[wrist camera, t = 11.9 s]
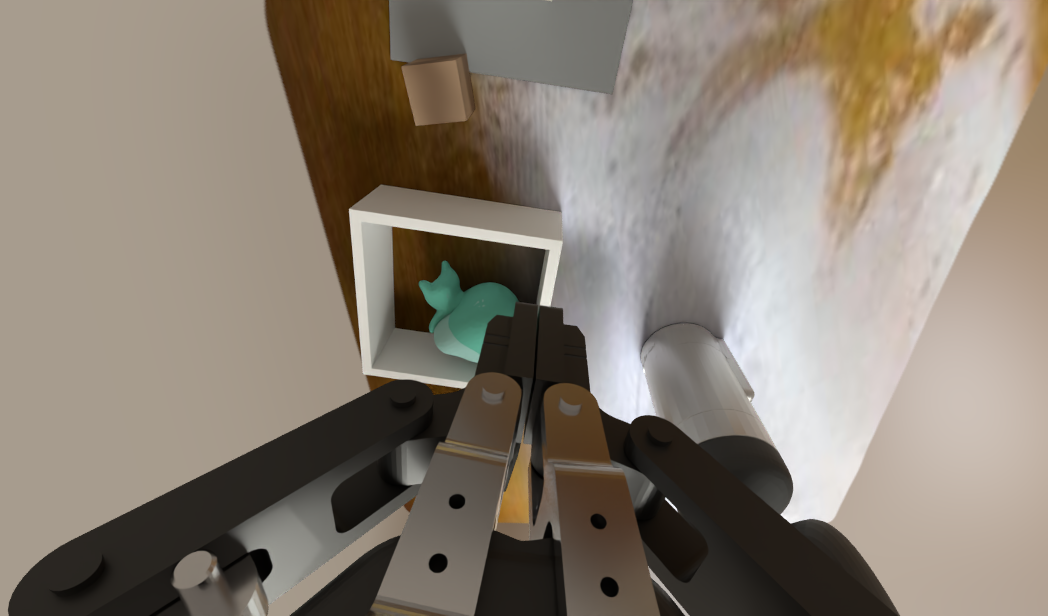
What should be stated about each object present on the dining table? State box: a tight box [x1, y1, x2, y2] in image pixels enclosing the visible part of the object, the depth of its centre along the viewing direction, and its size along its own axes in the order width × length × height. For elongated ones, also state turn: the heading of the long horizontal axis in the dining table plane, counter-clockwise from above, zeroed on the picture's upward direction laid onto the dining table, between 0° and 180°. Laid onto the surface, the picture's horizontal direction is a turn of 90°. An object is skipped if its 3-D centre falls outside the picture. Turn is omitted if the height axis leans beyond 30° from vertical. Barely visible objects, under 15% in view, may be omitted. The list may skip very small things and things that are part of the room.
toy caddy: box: [349, 185, 563, 389], centre depth 46 cm, size 19×19×8 cm
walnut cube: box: [401, 54, 475, 126], centre depth 37 cm, size 4×4×4 cm
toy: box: [419, 261, 519, 363], centre depth 47 cm, size 10×10×15 cm
